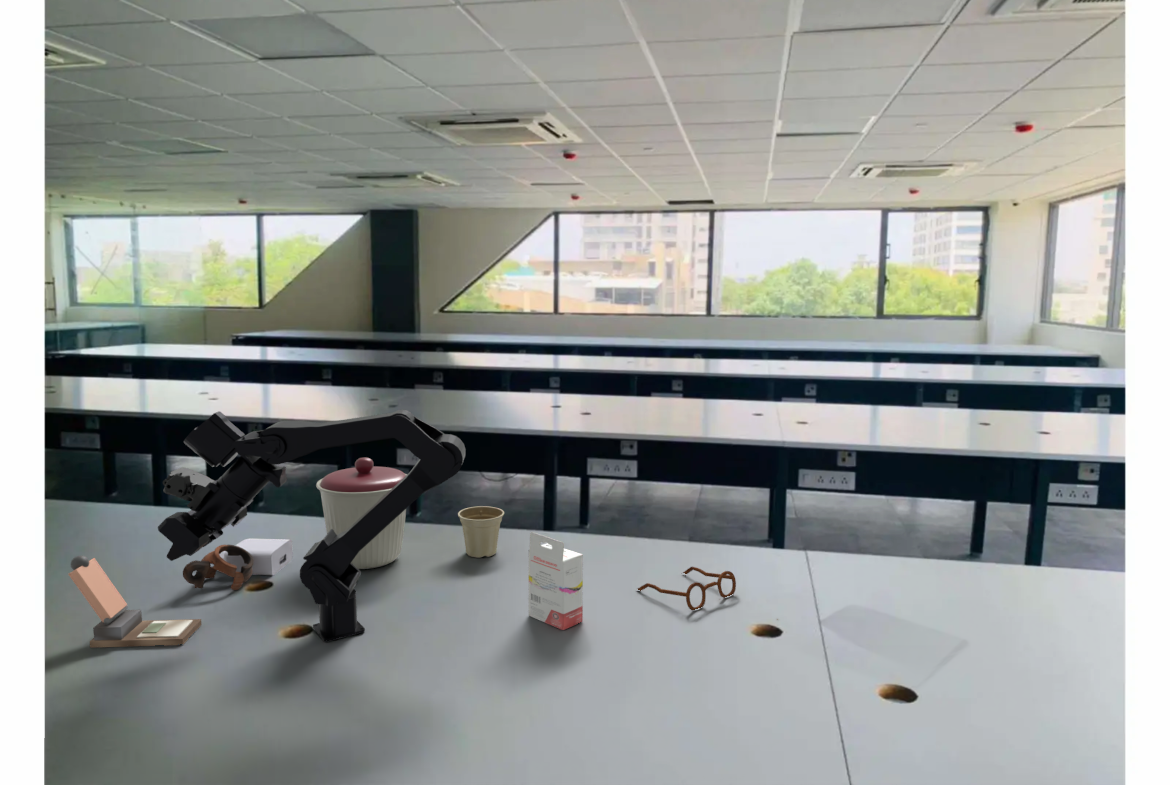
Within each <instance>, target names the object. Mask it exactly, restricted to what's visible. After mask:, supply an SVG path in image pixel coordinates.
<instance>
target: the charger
mask: <svg viewBox="0 0 1170 785" xmlns="http://www.w3.org/2000/svg"><path fill="white" fill-rule="evenodd" d="M234 545H235V546H238V547H241V548H243V549H245V550H246V551H248V552H249V553H250V554H251V555H252V557H253V559H254V564H253V566H252V570H253V573H252V575H251V576H275V575H277V574H278V572H280V571H281V570H282V569H283V568H285V567H286V566H287V565H288V564H289V563H291V562H292V561H293V558H294V552H293V551H294V550H293V548H294V547H293V540H292V539H284V538H283V539H281V538H279V539H278V538H277V539H276V538H275V539H274V538H245V539H243V540H241V541H239V542H238V543H237V544H234ZM206 555H207V554H205V555H204V556H206ZM219 555H220V557H221V558H223V559H224V560H225V561H226V562H228V563H230V564H233V565H236V566H237V570H236V571H237V572H241V567H242V566H245V565H248V564H247V563H246V564H245V563H244V560H243V558H242V557H241V555H239V556H228V552H227V551H223V552H221V554H219Z"/></svg>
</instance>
